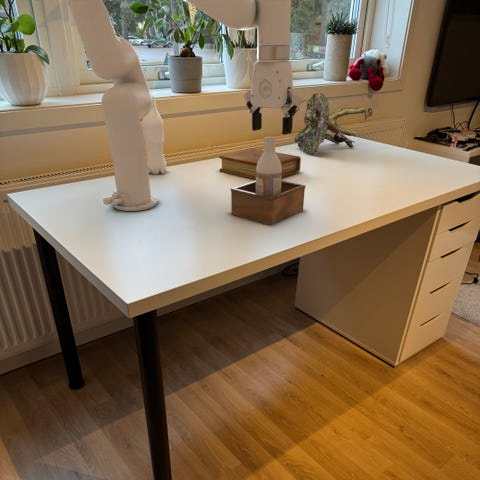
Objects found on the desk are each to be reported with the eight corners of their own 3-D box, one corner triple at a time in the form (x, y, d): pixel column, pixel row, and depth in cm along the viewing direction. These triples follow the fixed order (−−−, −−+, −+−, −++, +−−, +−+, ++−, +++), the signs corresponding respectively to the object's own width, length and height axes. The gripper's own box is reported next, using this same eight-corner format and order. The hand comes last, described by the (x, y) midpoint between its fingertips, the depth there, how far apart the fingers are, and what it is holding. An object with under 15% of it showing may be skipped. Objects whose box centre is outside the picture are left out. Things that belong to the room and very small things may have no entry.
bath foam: (250, 210, 128) (251, 136, 118) (271, 207, 131) (274, 134, 120) (263, 218, 123) (265, 140, 112) (284, 214, 126) (288, 138, 115)
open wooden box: (270, 225, 118) (271, 198, 114) (230, 214, 126) (230, 188, 122) (303, 210, 128) (305, 185, 124) (265, 201, 136) (266, 176, 132)
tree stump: (341, 138, 174) (386, 121, 194) (303, 85, 176) (351, 73, 196) (306, 175, 193) (351, 156, 213) (272, 127, 194) (320, 112, 215)
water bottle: (169, 170, 168) (163, 95, 154) (164, 175, 162) (157, 98, 148) (150, 169, 168) (142, 95, 155) (145, 174, 162) (136, 98, 149)
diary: (300, 172, 165) (301, 156, 162) (267, 182, 153) (267, 165, 150) (253, 162, 178) (253, 147, 175) (219, 171, 166) (219, 155, 163)
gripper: (235, 55, 109) (236, 130, 118) (294, 55, 99) (290, 137, 108) (254, 54, 114) (254, 126, 123) (312, 54, 104) (307, 133, 113)
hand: (271, 131), depth 116 cm, fingers open, 9 cm apart
